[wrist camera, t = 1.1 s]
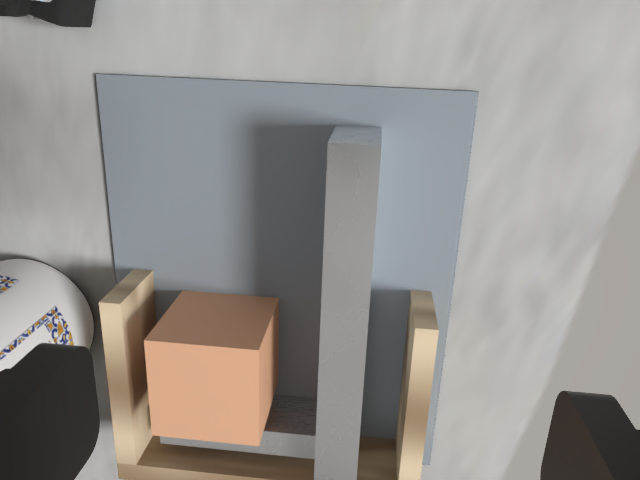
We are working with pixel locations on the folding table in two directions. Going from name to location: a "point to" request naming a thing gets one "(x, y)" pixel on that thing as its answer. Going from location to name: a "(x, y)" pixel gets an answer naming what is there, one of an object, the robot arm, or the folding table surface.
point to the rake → (333, 320)
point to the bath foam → (39, 310)
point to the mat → (288, 207)
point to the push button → (52, 11)
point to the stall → (234, 466)
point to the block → (213, 367)
